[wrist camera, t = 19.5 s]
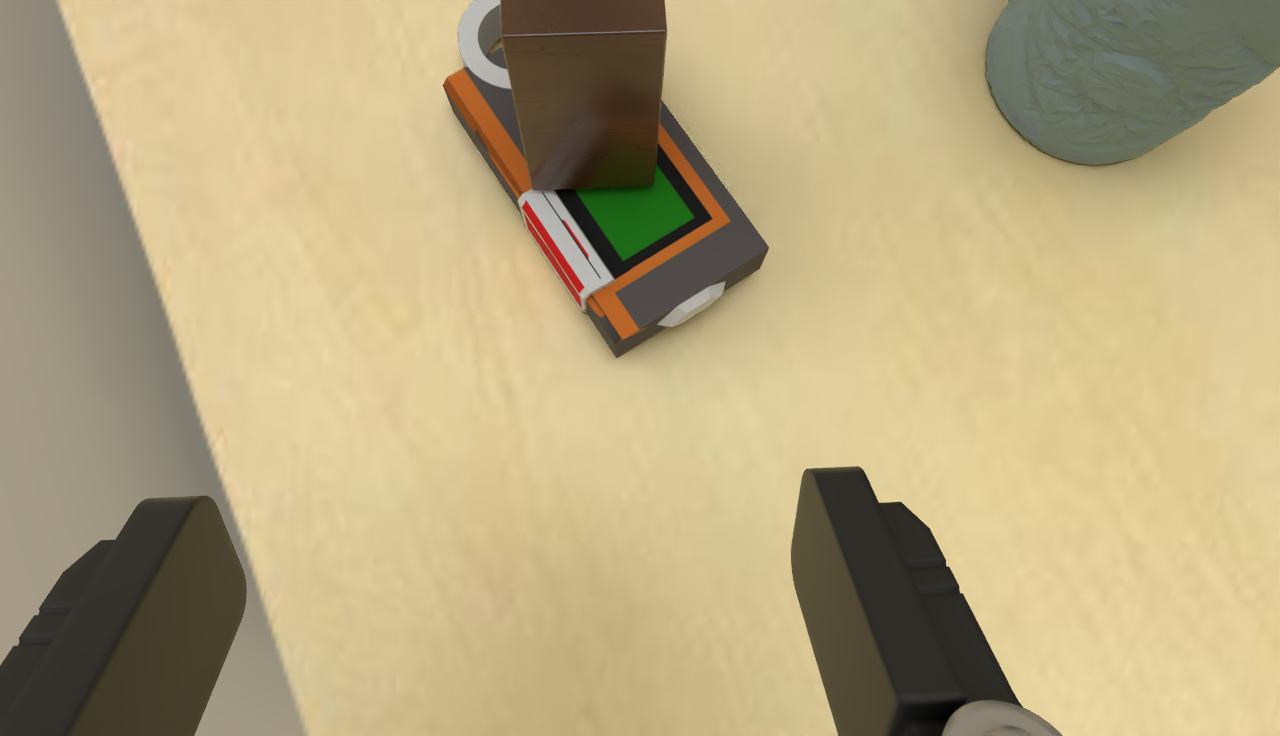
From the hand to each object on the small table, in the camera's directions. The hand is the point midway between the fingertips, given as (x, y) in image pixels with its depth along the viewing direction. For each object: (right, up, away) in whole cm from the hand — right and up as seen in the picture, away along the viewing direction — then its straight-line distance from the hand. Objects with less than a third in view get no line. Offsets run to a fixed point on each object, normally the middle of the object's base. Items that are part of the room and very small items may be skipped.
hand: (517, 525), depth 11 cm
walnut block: (0, +11, +18) cm, 21 cm away
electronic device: (0, +10, +21) cm, 24 cm away
